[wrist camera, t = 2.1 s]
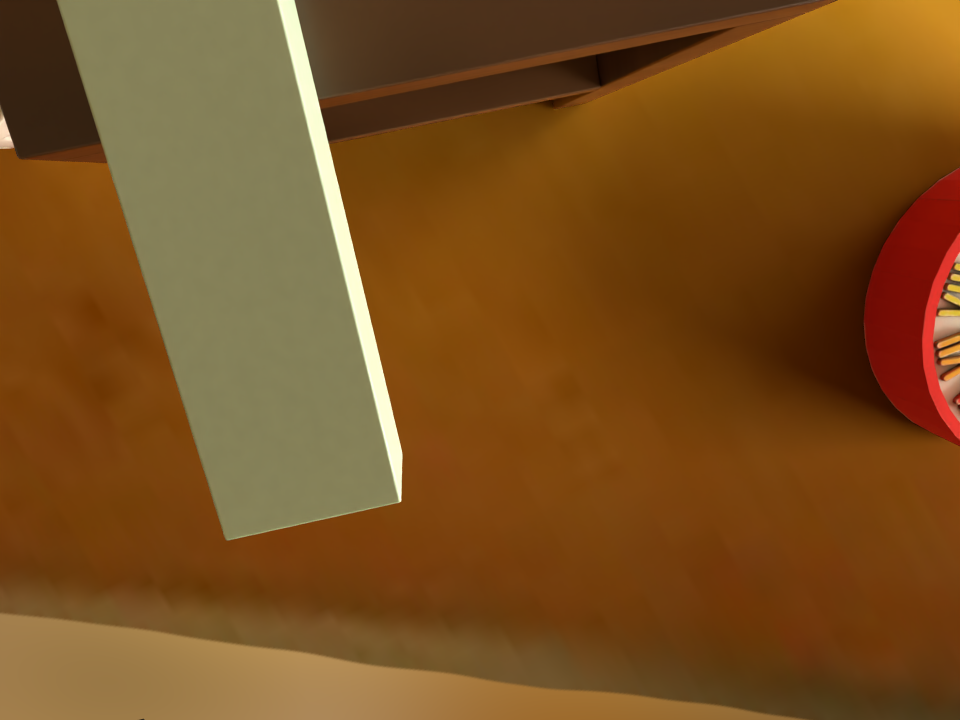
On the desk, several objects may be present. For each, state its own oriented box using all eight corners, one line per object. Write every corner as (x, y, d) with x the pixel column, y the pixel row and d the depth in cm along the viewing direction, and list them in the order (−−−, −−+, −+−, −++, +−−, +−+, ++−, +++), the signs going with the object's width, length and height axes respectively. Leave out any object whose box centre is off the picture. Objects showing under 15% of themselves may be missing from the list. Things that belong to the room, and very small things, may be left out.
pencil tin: (-65, -580, 14) (-189, -777, 11) (148, -613, 14) (81, -816, 11) (252, 487, 20) (225, 542, 17) (402, 455, 20) (402, 503, 17)
